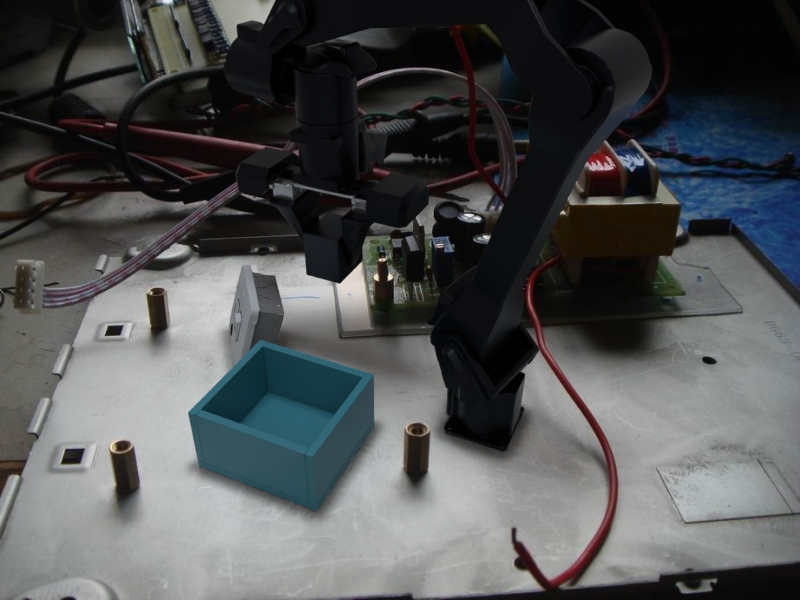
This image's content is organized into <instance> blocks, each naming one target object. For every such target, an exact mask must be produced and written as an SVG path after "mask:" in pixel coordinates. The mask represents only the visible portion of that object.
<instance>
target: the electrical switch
mask: <svg viewBox="0 0 800 600" xmlns="http://www.w3.org/2000/svg"><path fill="white" fill-rule="evenodd" d="M229 317H230V318H229V323H228V328H227V329H228V331H227V332H228V339H229V347H230V355H231V360H232V368H233V367H234V366H235V365H236V364H237V363H238V362H239V361H240V360H241V359H242V358H243V357H244V356H245V355H246V354H247V353H248V352H249V351H250V350H251V349H252V348H253V347H254V346H255V345H256V344H257V343H258V342H259V341H260V340H263V341H266V342H269V343H272V344H276V345H278V341H279V338H280V334H281V330H282V326H283V322H284V318H285V309H284V305H283V301H282V298H281V294H280V289H279V285H278V282H277V277H276V275H273V274H264V273H260V272H254V271H253V270H252V265H251V264H242V265H241V268H240V272H239V276H238V280H237V284H236V289H235V293H234V298H233V302H232V307H231V312H230V316H229Z"/></svg>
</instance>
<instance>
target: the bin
mask: <svg viewBox="0 0 800 600" xmlns="http://www.w3.org/2000/svg"><path fill="white" fill-rule="evenodd" d="M187 414H188V419H189V426H190V429H191V434H192V439H193V445H194V448H195V454H196V460H197V465H198V467H200V468H203V469H205V470H208V471H212V472H213V473H216V474H219V475H222V476H224V477H227V478H229V479H231V480H234V481H237V482H239V483H241V484H245V485H248V486H250V487H253V488H254V489H258V490H261V491H263V492H266V493H268V494H271V495H274V496H276V497H279V498H280V499H284V500H286V501H289V502H292V503H294V504H296V505H299V506H302V507H305V508H307V509H310V510H312V511H315V512H317V511H318V510H319V509H320V507H321V506H322V504H323V503H324V502H325V499H327V497H328V496H329V494H330V493H331V491H332V490H333V488H334V487H335V485H336V484H337V482H338V481H339V479H340V478H341V476H343V474H344V472H345V471H346V469H347V468H348V466H349V464H350V463H351V462H352V460H353V459H354V457H355V456H356V455H357V453H358V451H359V450H360V449H361V447H362V446H363V444H364V443H365V441H366V440H367V438H368V437H369V436H370V435H371V432H372V431H373V430H374V428H375V374H374V373H371V372H366V371H363V370H361V369H357V368H354V367H351V366H348V365H345V364H341V363H339V362H338V363H337V362H334V361H332V360H328V359H324V358H322V357H318V356H314V355H312V354H308V353H305V352H301V351H298V350H295V349H292V348H289V347H286V346H282V345H279V344H277V345H276V344H272V343H269V342H266V341H263V340H260V341H259V342H258V343H257V344H256V345H255V346H254V347H253V348H252V349H251V350H250V351H249V352H248V353H247V354H246V355H245V356H244V357H243V358H242V359H241V360H240V361H239V362H238V363H237V364H236V365H235V366H234V367H233V366H232V368H230V369H229V371H228V372H226V374H225V375H224V376H223V377H221V378H220V379H219V381H218V382H217V383H216V384H215V385H214V386H213V387H212V388H211V389H210V390H208V392H207V393H205V395H204V396H202V397H201V399H199V401H198V402H197V403H196V404H194V406H192V408H190V409H189V411H187Z"/></svg>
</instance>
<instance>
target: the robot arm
mask: <svg viewBox="0 0 800 600" xmlns="http://www.w3.org/2000/svg"><path fill="white" fill-rule="evenodd" d="M478 25H485V26H487V27H488V29H490V31H491V32H492V33H493V34H494V35H495V36H496V37H497V40H498V41H499V44H500V46H501V48H502V51H503V53H504V56H505V57H506V60H507V62H508V65H509V67H510V69H511V72H512V73H513V74H514V76H515V77H516V78H517V79H518V80H519V81H520V82H521V83H522V85H523V86H525V87H526V89H527V90H528V91H529V92H530V93H531V98H530V104H529V107H528V112H527V115H526V116H527V118H526V119H527V121H526V122H527V132H528V148H527V152H526V155H525V157H524V159H523V161H522V164H521V166H520V168H519V171H518V173H517V174H516V177H515V180H514V182H513V184H512V187H511V189H510V191H509V193H508V196H507V198H506V200H505V202H504V204H503V207H502V210H501V211H500V214H499V216H498V218H497V220H496V223H495V225H494V227H493V230H492V232H491V235H490V236H489V239H488V241H487V244H486V245H485V248H484V250H483V252H482V255H481V257H480V259H479V261H478V264H475V265H474V266H472V267H471V268H470V269H468V270H467V271H466V272H465V273H464V274H462V275H461V276H460V277H459V278H457V279H456V280H454V281H453V282H452V283H451V284H449V285H448V286H447V287H445V288H444V289H443V290H442V291H441V292H440V294H439V296H438V298H437V302H436V308H435V312H434V314H433V315H432V317H430V319H428V320H427V321H426V324H427V325H429V326H432V327H431V329H430V334H429V340H430V341H429V342H430V345H432V346H433V347H434V348H433V349H434V352H435V356H436V361H437V363H438V366H439V369H440V373H441V377H442V380H443V384H444V387H445V389H446V405H445V406H446V407H445V414H446V416H448V419H447V421H446V422H445V424H444V426H443V431H444V433H445V434H447V435H450V436H453V437H456V438H460V439H462V440H465V441H468V442H472V443H475V444H478V445H481V446H484V447H487V448H489V449H493V450H496V451H500V452H507V451H508V449H509V448H510V445H511V442H512V440H513V439H514V436H515V434H516V432H517V429H518V427H519V425H520V424H521V421H522V418H523V416H524V415H525V407H524V406H523V405H522V402H523V401H522V400H523V395H524V387H525V379H526V373H525V372H523V370H524V369H525V368H526V367H527V366H528V365H530V364H531V363H532V362H533V361H534V359H535V358H536V356H537V355H538V353H539V352H540V347H539V345H538V344H537V342H536V341H535V340H534V338H533V337H532V335H531V334H530V332H529V331H528V329H527V328H526V327H525V325H524V323H523V322H522V316H523V312H524V308H525V299H524V286H525V285H526V281H527V280H528V278H529V276H530V274H531V272H532V270H533V268H534V266H535V264H536V262H537V261H538V258H539V257H540V254H541V253H542V250H543V248H544V247H545V245H546V244H547V243H546V242H547V241H548V238H549V237H550V235H551V233H552V231H553V229H554V227H555V225H556V223H557V221H558V220H559V217H560V216H561V213H562V211H563V210H564V207H565V206H566V204H567V201H568V199H569V198H570V196H571V194H572V192H573V190H574V188H575V186H576V184H577V182H578V181H579V178H580V176H581V174H582V173H583V170H584V168H585V166H586V164H587V162H588V161H589V159H590V158H592V156H593V155H594V154H595V152H596V151H598V149H599V148H600V147H601V146H602V145H603V143H604V142H605V141H606V140H607V139H608V138H609V137H610V136H611V135H612V133H614V131H615V130H616V129H617V127H619V125H620V124H621V123H622V122H623V121H624V119H625V118H627V115H628V114H630V112H631V110H632V109H633V108H634V107H635V105H636V104H638V101H639V100H640V99H641V98H642V97H643V95H644V94H645V92H646V91H647V89H648V87H649V85H650V82H651V79H652V74H653V65H652V63H651V62H650V59H649V55H648V51H647V49H646V48H645V47H644V45H643V44H642V42H641V41H640V40H639V39H638V38H637V37H636V36H634V35H633V34H632V33H630V32H628V31H625V30H622V29H619V28H617V27H615V26H614V25H613V23H612V22H611V21H610V20H609V19H608V18H607V17H606V16H605V15H604V14H603V13H602V12H601V11H600V10H599V9H598V8H597V7H595V6H593V5H592V4H591V3H589V2H587V1H586V0H274V2H273V4H272V6H271V9H270V11H269V13H268V15H267V17H266V19H265V21H264V22H261V21H257V20H253V19H252V20H248V21H244V22H239V23H237V24H236V26H235V27H236V35H237V36H236V38H234V40H233V41H232V42H231V43H230V46H229V47H228V50H227V53H226V56H225V62H224V63H223V72H224V76H225V79H226V81H227V84H228V85H229V87H230V88H232V89H233V90H234V91H235V92H237V93H240V94H244V95H248V96H251V97H254V98H258V99H261V100H265V101H267V102H271V103H274V104H278V105H282V106H288V105H291V104H293V103H294V110H295V123H296V126H295V127H293V128H292V129H291V130H289V131H288V137H289V142H290V143H294V144H297V149H298V155H297V154H296V153H295V152H294V151H290V150H284V149H279V148H276V147H275V148H274V147H269V146H265V147H263V148H262V149H260V150H258V151H256V152H255V153H253V154H252V155H250V156H249V157H247V158H246V159H244V160H242V161H241V162H240V163H239V164H238V165H237V169H236V171H235V178H236V186H237V190H238V192H241V193H245V194H250V195H253V196H258V197H262V196H263V195H265V193H266V192H267V191H269V189H270V185H271V186H272V187H271V188H272V196H271V197H269V199H268V203H269V205H270V206H272V207H275V208H276V209H277V210H278V211H279V212H280V214H281V215H282V216H283V217H284V219H285V220H286V221H287V222H288V224H289V225H290V226H291V228H292V229H293V230H294V232H295V233H296V235H297V237H298V238H299V239H300V240H301V242H302V243H303V245H304V238H303V232H305V231H306V230H307V229H308V228H309V227H311V226H312V225H313V224H314V223H315V222H317V221H318V220H319V219H320V212H319V200H320V197H321V194H327V195H331V196H335V197H340V198H344V199H350V200H351V208H350V210H348V211H347V212H346V213H345V214H343V215H344V216H342V217H341V225H342V232H343V239H344V247H345V254H346V259H347V262H348V265H349V266H350V267H353V266H354V265H355V264H356V263H357V260H358V258H359V255H360V252H361V249H362V250H363V247H364V244H365V241H366V239H367V235H368V233H369V230H370V228H371V226H372V225H374V224H377V225H382V226H386V227H390V228H394V229H395V228H396V229H404V228H407V227H408V226H410V224H411V223H412V222H413V221H414V220H415V219H416V218H417V217H418V216H419V215H420V214H421V213H422V212H423V211H424V210H425V209H426V208H427V207H428V206H429V200H430V188H429V186H428V185H427V183H426V182H425V180H424V179H423V178H420V177H416V176H411V175H407V174H401V173H397V172H392V171H390V172H389V173H387V175H386V176H384V177H383V178H382V179H381V180H378V179H367V180H364V179H361V174H367V173H368V172H370V171H371V170H372V169H373V167H372V166H373V165H372V164H373V163H378V164H379V165H383V164H384V163H385V156H386V151H387V150H386V149H387V143H388V135H389V133H388V132H385V131H380V130H374V129H371V128H370V129H369V128H367V123H366V120H365V119H364V118H359V110H358V109H359V105H358V103H359V102H358V77H359V76H361V75H364V74H368V73H369V72H372V71H374V70H376V69H377V67H378V64H377V62H376V60H375V58H373V57H372V56H371V55H370V54H369V53H368V52H366V51H365V50H364V49H363V47H362V46H361V44H360V42H359V41H354V42H350V43H348V44H344V45H342V46H340V47H339V46H334V45H331V44H322V43H325V42H328V41H333V40H336V39H339V38H342V37H346V36H350V35H352V34H356V33H359V32H362V31H367V30H371V29H394V28H396V29H397V28H420V27H421V28H422V27H423V28H424V27H446V26H447V27H448V26H450V27H451V26H478ZM318 44H319V45H318ZM315 45H316V46H315ZM312 46H315V47H313V48H312V49H310V48H309V47H312Z"/></svg>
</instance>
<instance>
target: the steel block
mask: <svg viewBox="0 0 800 600" xmlns="http://www.w3.org/2000/svg"><path fill="white" fill-rule="evenodd" d="M344 215H345V214H339V213H334V212H330V211H327V212H326V213H325V214H324V215H322V217H319V220H318V221H317V222H315V223H314V224H313V225H312V226H311V227H309V228H308V229H307V230H306V231H305V232H303V238H304V244H303V248H304V250H303V251H304V261H305V262H304V263H305V274H306V276H309V277H313V278H317V279H320V280H324V281H328V282H330V283H331V282H332V283H335V284H339V285H340V284H341V283H342V282H343V281H345V280H346V279H347V278H348V276H349V275H351V274H352V273H353V272H354V270H356V269H357V267H358V266H359V265H360V264H361V263H363V256H364V255H363V254H364V253H363V248H362V249H361V252H360V255H359V258H358V260H357V263H356V264H355V265H354V266H353V267H350V266H349V265H348V262H347V259H346V254H345V247H344V239H343V232H342V225H341V217H342V216H344Z"/></svg>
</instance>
